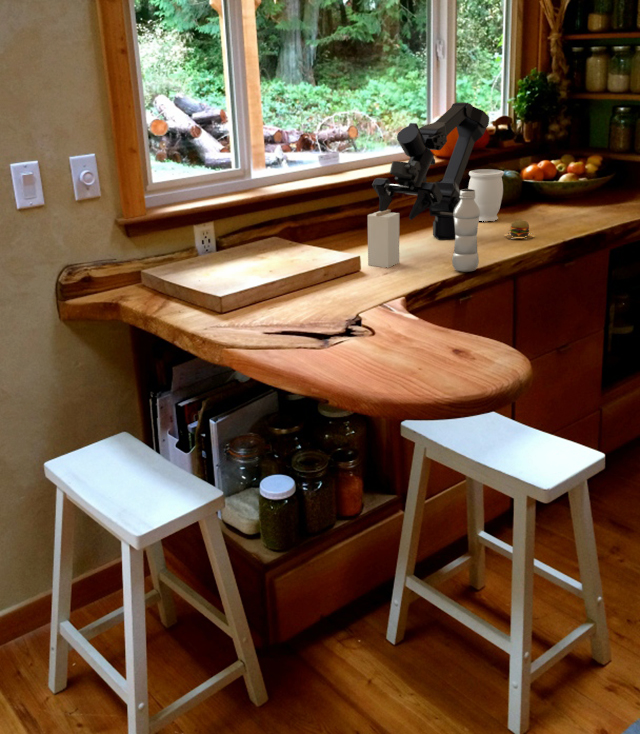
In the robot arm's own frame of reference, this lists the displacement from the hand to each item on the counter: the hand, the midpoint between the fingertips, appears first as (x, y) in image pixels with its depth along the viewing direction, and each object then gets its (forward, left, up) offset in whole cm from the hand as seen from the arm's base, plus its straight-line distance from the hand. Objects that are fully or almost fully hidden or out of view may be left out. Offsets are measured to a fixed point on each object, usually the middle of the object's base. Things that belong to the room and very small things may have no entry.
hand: (394, 217), depth 213 cm
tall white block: (+4, +4, -11) cm, 12 cm away
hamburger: (-40, -14, -12) cm, 44 cm away
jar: (-38, -39, -11) cm, 56 cm away
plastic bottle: (-14, +16, -11) cm, 24 cm away
